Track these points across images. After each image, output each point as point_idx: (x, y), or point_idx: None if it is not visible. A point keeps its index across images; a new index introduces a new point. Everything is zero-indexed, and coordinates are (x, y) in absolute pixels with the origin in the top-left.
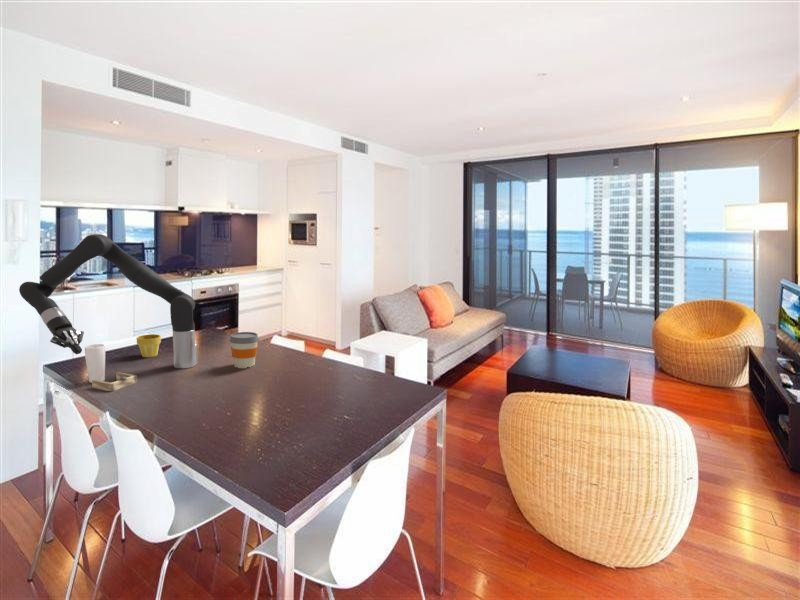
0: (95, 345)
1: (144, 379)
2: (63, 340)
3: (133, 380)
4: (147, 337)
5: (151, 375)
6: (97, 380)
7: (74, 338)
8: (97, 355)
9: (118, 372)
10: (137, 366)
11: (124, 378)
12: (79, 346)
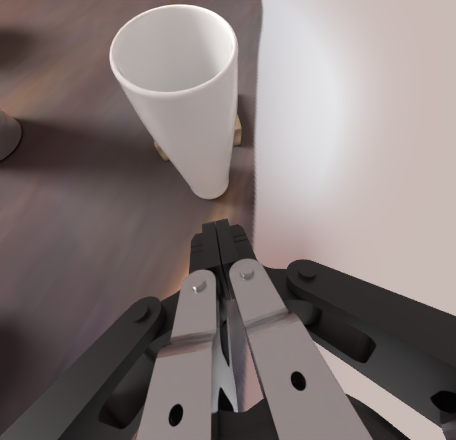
0: (144, 96)
1: (131, 115)
2: (371, 319)
3: None
4: None
5: (101, 130)
6: None
7: (195, 343)
8: (200, 67)
9: (157, 144)
10: (55, 237)
11: None
12: (194, 258)
